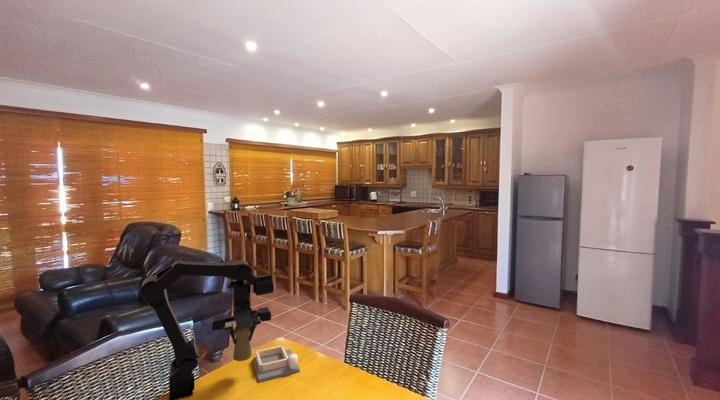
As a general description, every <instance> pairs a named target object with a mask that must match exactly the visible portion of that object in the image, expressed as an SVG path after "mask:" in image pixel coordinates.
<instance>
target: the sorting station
mask: <svg viewBox="0 0 720 400" xmlns="http://www.w3.org/2000/svg"><path fill="white" fill-rule="evenodd" d="M298 359H299V355H298V354H296V353H292V350H291V348H289V349H285V347H284V345H277V346H273V347H269V348H263V349H260V350H256V351H255V356H254V357H252V362H253V365H254V370H255V373H256V377H257V381H258V383H260V382H264V381H268V380H273V379H276V378H280V377H285V376H288V375H292V374H295V373H296V374H297V373H300V372H301V370H300V367H299V365H298V364H299V363H298V362H299V360H298Z"/></svg>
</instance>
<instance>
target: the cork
mask: <svg viewBox="0 0 720 400" xmlns="http://www.w3.org/2000/svg"><path fill="white" fill-rule="evenodd" d="M233 329H234V335H235V344H234V348H233V356H232V357H233V361H236V362H243V361H247V360H249V359H251V357H252V355H253V354H252V353H253V352H252V348H251V341H249V333H250V327H249V328H242V329H237V328H236V326H235V327H234V328H233Z"/></svg>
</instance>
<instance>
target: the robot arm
mask: <svg viewBox="0 0 720 400" xmlns="http://www.w3.org/2000/svg"><path fill="white" fill-rule="evenodd" d="M182 276H183V277H184V276H188V277H190V276H191V277H192V276H193V277H195V276H196V277H222V278H226V279H228V280H229V281H227V283H226V284H225V285H226V288H227V289H232V315H231V316H227V317H225V313H223V314H216V315H213V316H212V317H211V330H212V331H220V330H223V331H227V332H228V333H229V335H230V337H231V339H232V343H233V344H234V345H235V339H236V336H235V334H234V329H235V328H234V325H233V323H235V327H236V328H237V329H242V328H249V327H250V333H249V341H250V342H251V341H252V338H253V336H254V332H255V330H256V328H257V326H258V325H261V324H262V322H268V321H271V320H272V312H271V309H270V308H269V307H268V306H265V307H264V306H263V307H259V308H257V309H252V306H251V305H252V304H251V303H252V301H251V300H252V299H251V297H252V296H251V293H252V294H254V295H255V296H256V297H259V296H265V295H272V294H274V291H275V288H274V287H275V285H274V282H273V275H272V274H271V273H267V274H263V275H262V274H261V275H256V274H254V272H252V267H251V266H250V264H249V263H248V262H247V261H246V260H244V259H236V260H229V261H225V262H211V261H210V262H208V261H206V262H205V261H183V260H181V259H180V260H176V261H174V262H173V263H172V264H170V265H168V266H167V267H165V268H164V269H162V270H161V271H158V272H157V273H156V274H155V275H154V274H151V275H149V276H147V277H146V278H144V280H143V282H142V284H141V287H140V290H139V291H140V292H139V293H140V296H141V298H142V299H143V300H144V301H145V303H146V304H147V305H148V306H149V307H150V308H151V309H152V310H154V312H155V313H156V316H157V318H158V319H159V322H160V324H161V326H162V328H163V330H164V332H165V334H166V337H167V338H168V340H169V342H170V344H171V347H172V349H173V353H174V359H173V360H172V361H171V362H170V365H169V367H170V368H169V377H168V382H169V383H168V384H169V387H168V388H169V390H168V391H169V395H168V400H180V399H184V398H188V397H192V395H194V390H195V372H193V371H194V370H195V369H196V368H197V366H198V365H199V358H200V351H199V350H200V349H199V346H198V345H197V344H196V342H195V338H192V339H188V338H187V337H186V335H185V333H184V331H183V328H182V327H181V325H180V322H179V321H178V319H177V316H176V314H175V312H174V310H173V308H172V306H171V304H170V302H169V297H168V293H167V289H168V287H170V286H171V285H172V284H173V283H174V282H175V281H176V280H177V279H179V278H180V277H182Z"/></svg>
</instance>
